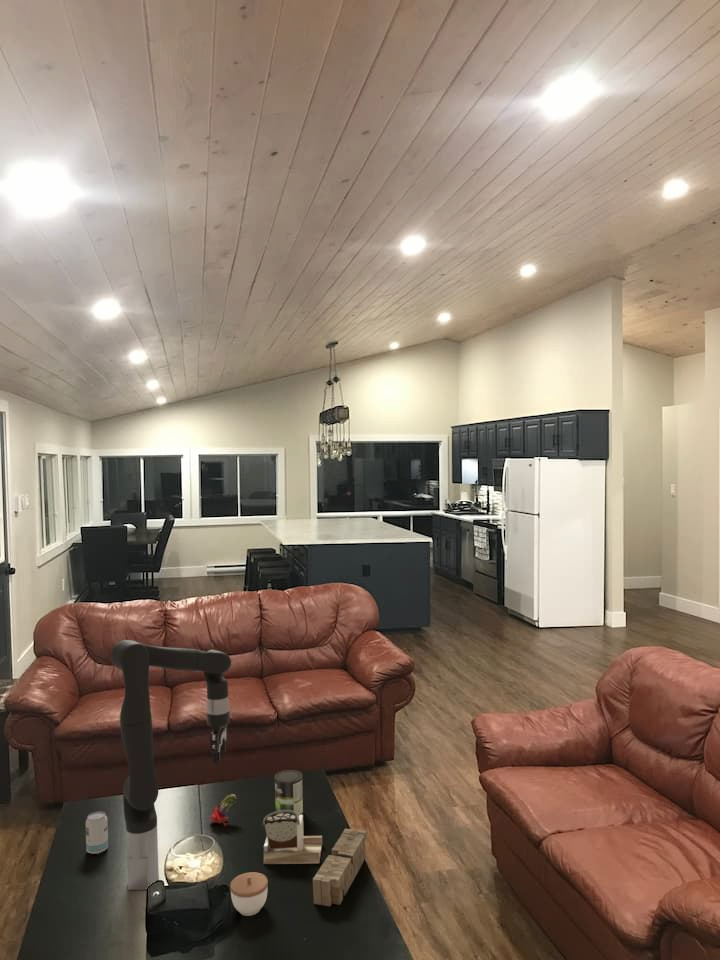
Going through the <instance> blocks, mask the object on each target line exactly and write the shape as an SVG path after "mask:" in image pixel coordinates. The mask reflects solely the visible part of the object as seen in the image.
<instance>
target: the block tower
mask: <svg viewBox="0 0 720 960" xmlns="http://www.w3.org/2000/svg"><path fill="white" fill-rule="evenodd" d="M367 833H368V832H367V830H359V829H351V828H344V830H343V831H342V833H341V834H340V837H339V838H338V839H337V841H336V842H335V844H334V846H333V847H332V848H331V855H330V854H329V855H327V857H326V858H325V860H324V862H323V863H322V864H321V866H320V868H318V871H317V872H316V873H315V875H314V877H312V894H313V895H312V896H313V904H314V905H320V906H325V907H331V906H332V905H333V904H334V905H339V906H340V905H341V904H342V901H343V900H344V897H346V895H347V893H348V891H349V888H350V887H351V885H352V883H353V882H354V880H355V878H356V876H357V874H358V873H359V871H360V869H361V867H362V865H363V863H364V861H365V859H366V857H367V856H366V853H367V852H366V841H367V837H368V836H367Z"/></svg>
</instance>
